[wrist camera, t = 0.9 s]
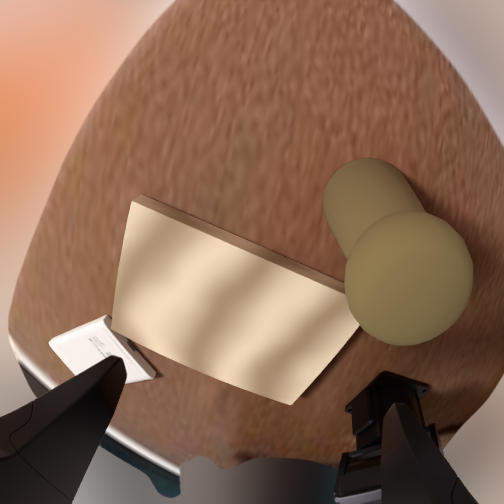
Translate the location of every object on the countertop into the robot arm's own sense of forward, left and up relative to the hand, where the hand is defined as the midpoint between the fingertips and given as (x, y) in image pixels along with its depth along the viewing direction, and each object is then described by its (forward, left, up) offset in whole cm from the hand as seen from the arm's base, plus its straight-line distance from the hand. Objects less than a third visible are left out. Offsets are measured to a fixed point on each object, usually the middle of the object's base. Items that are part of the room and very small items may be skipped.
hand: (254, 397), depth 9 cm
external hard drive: (+12, +22, -14) cm, 29 cm away
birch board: (+1, +8, -13) cm, 16 cm away
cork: (-4, -4, -13) cm, 15 cm away
